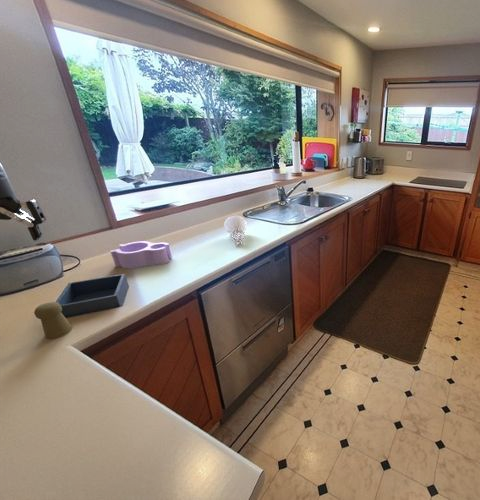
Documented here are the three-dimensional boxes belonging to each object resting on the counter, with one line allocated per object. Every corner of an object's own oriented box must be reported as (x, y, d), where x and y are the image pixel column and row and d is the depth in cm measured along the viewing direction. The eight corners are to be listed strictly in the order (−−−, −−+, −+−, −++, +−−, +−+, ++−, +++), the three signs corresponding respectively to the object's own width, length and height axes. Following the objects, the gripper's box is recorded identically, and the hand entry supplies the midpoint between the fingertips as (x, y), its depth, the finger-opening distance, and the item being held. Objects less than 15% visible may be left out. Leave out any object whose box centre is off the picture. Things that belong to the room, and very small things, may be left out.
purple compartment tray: (175, 253, 131) (172, 240, 128) (165, 266, 120) (161, 251, 117) (127, 256, 127) (122, 242, 124) (111, 269, 116) (106, 254, 113)
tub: (58, 322, 86) (51, 308, 84) (74, 296, 98) (68, 282, 96) (121, 309, 93) (116, 295, 90) (129, 286, 105) (124, 273, 103)
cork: (46, 347, 77) (28, 315, 72) (47, 335, 81) (30, 304, 76) (75, 337, 80) (60, 306, 76) (75, 326, 84) (61, 296, 80)
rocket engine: (239, 229, 135) (235, 211, 148) (222, 244, 136) (219, 225, 149) (257, 242, 144) (251, 224, 156) (240, 256, 144) (236, 237, 157)
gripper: (32, 173, 71) (57, 233, 78) (-53, 175, 65) (-18, 240, 71) (17, 179, 65) (46, 243, 72) (-78, 182, 59) (-37, 252, 65)
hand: (14, 241), depth 72 cm, fingers open, 8 cm apart
